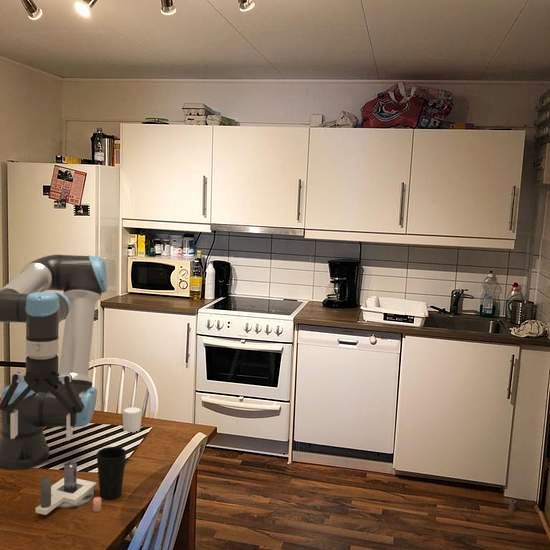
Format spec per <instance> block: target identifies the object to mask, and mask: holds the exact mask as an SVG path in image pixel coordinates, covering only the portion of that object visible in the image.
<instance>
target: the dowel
mask: <svg viewBox="0 0 550 550" xmlns="http://www.w3.org/2000/svg"><path fill="white" fill-rule="evenodd" d="M92 501H93V502H92V511H93V512H96V513H98V512H101V510H102V498H101V497H100V496H95V497H93V498H92Z"/></svg>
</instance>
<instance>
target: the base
mask: <svg viewBox="0 0 550 550" xmlns="http://www.w3.org/2000/svg"><path fill="white" fill-rule="evenodd" d="M63 465H64V466H63V478H64V489H63V490H62V491H63V492H67V493H72V494H73V493H74V492H76V491H77V490H78V489H80V488H77V479H78V477H77V475H78V472H77V471H78V463H77V462H75V461H68V462H65V463H64V464H63ZM94 491H95V489H94V490H93V491H92V492H90V493H89V494H88V495H86V496H85V497H84V498H83V499H81V500H80V501H79V502H77V503H76V504H71V503H67V502H62V503H61V504H60V505H58V506H57V507H56V508H59V509H71V508H76V507H77V508H78V507H80V506H83V505H85V504H88V502H90V501H91V500H93V498H94Z"/></svg>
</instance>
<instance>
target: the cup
mask: <svg viewBox="0 0 550 550" xmlns="http://www.w3.org/2000/svg"><path fill="white" fill-rule="evenodd" d="M126 457H127V451H126V449H124V448H122V447H121V446H120V447H118V446H107V447H104V448H101V449H99V450H98V451H97V453H96V461H97V473H98V475H97V477H98V485H99V488H98V489H99V497H101V499H102V500H105V501H106V500H107V501H111V500H116V499H118V498H120V497H121V496H122V491H123V490H122V489H123V484H124V483H123V482H124V473H125V465H126Z"/></svg>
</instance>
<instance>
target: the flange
mask: <svg viewBox="0 0 550 550" xmlns="http://www.w3.org/2000/svg"><path fill="white" fill-rule="evenodd" d="M77 488H80V489H78V490H77V491H76V492H74V493H73V494H72V493H67V492H63V491H62V490H63V489H64V477H63V478H61V479H59V480H58V481H56V483H54V484H52V477H51V476H44V477H42V478H40V504H39V505H38V506H36V507H35V513H36V514H39V515H40V514H41V515H45V516H47V515H48V514H49V513H51V512H52V511H53V510H54V509H55V508H58V507H57V506H58V505H60V504H61V503H62V502H67V503H71V504H76V503H77V502H79V501H80V500H81V499H83V498H84V497H85V496H86V495H88V494H89V493H90V492H92V491H93V490H94V491H95V490H96V489H97V488H98V482H96V481H91V480H85V479H81V478H77Z"/></svg>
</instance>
